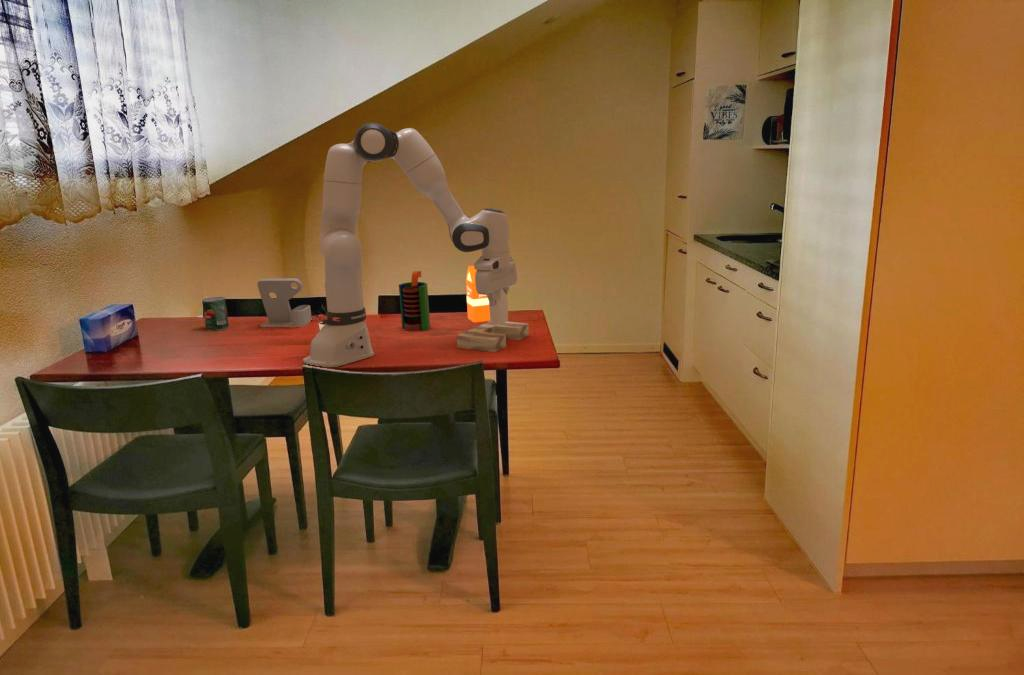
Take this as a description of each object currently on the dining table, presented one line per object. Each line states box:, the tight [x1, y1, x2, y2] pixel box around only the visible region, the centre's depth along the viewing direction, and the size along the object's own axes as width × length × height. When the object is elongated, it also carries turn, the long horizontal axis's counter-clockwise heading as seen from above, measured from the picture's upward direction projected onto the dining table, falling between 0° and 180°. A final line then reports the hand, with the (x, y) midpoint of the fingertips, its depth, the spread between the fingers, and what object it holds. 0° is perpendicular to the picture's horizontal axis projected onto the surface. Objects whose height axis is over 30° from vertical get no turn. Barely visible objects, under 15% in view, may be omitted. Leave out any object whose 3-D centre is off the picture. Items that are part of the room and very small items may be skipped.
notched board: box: [456, 321, 530, 353], centre depth 238 cm, size 22×14×4 cm, turn 150°
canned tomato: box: [201, 296, 230, 332], centre depth 267 cm, size 8×8×11 cm
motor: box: [398, 270, 431, 332], centre depth 257 cm, size 10×9×20 cm
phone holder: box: [256, 277, 313, 328], centre depth 269 cm, size 17×10×18 cm, turn 82°
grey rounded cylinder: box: [489, 289, 509, 323], centre depth 234 cm, size 6×12×6 cm
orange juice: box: [465, 265, 490, 323], centre depth 267 cm, size 8×9×20 cm
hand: (498, 303), depth 234 cm, fingers closed on grey rounded cylinder, 5 cm apart
